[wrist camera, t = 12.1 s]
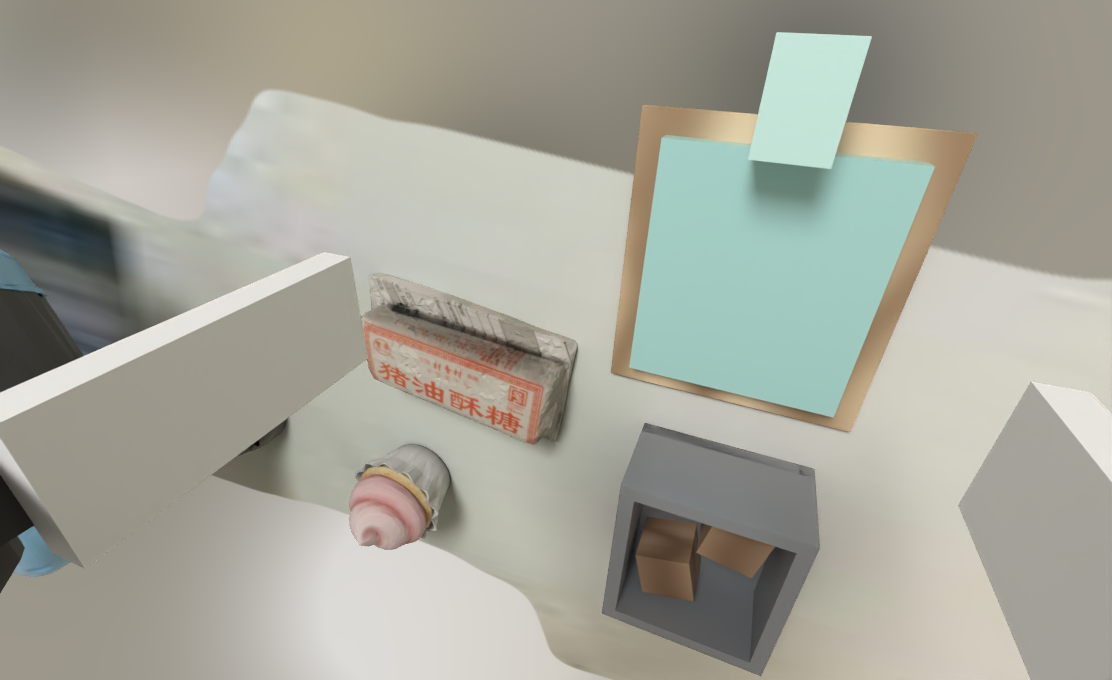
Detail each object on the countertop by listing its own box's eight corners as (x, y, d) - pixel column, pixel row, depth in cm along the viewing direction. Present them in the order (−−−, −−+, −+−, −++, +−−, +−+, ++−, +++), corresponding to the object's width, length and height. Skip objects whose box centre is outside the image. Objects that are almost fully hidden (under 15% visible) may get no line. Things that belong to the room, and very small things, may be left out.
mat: (612, 370, 38) (610, 372, 38) (644, 104, 29) (642, 105, 29) (849, 428, 33) (849, 431, 33) (975, 132, 24) (978, 133, 24)
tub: (624, 544, 46) (601, 613, 40) (644, 422, 39) (620, 485, 33) (764, 592, 43) (760, 676, 37) (814, 469, 36) (819, 548, 30)
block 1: (652, 551, 44) (642, 591, 41) (647, 516, 42) (635, 555, 39) (700, 559, 42) (693, 601, 39) (696, 523, 40) (689, 564, 37)
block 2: (703, 511, 40) (696, 552, 36) (723, 477, 38) (717, 517, 34) (754, 534, 39) (751, 578, 36) (777, 501, 37) (776, 544, 33)
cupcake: (471, 512, 52) (413, 596, 44) (396, 491, 56) (330, 566, 48) (457, 439, 48) (391, 518, 40) (377, 422, 51) (300, 491, 43)
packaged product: (558, 368, 34) (538, 471, 40) (582, 336, 38) (561, 433, 44) (338, 289, 38) (347, 392, 44) (380, 267, 42) (383, 363, 48)
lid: (633, 359, 36) (614, 397, 32) (680, 31, 26) (661, 27, 22) (832, 406, 33) (838, 456, 29) (976, 44, 23) (1017, 42, 18)
